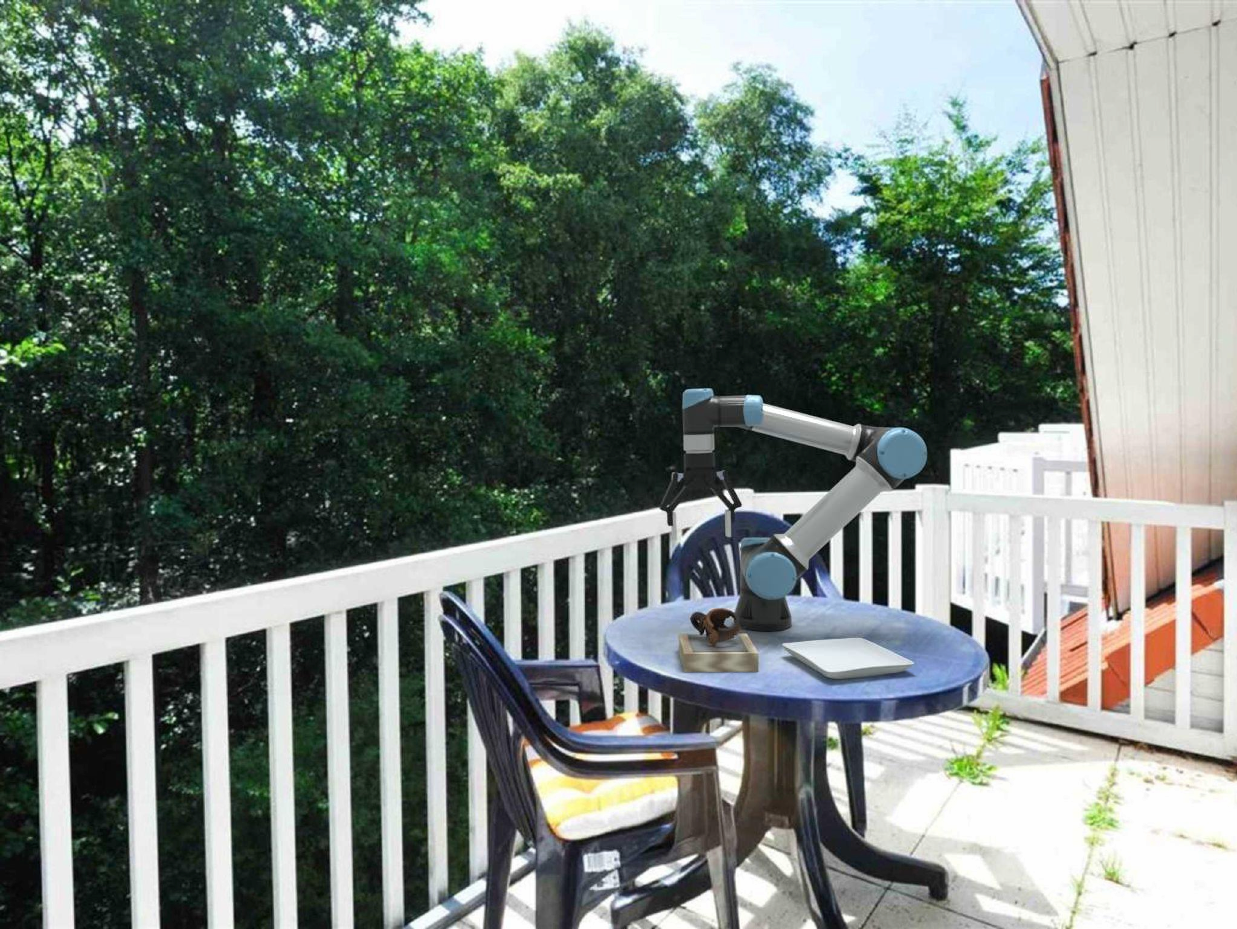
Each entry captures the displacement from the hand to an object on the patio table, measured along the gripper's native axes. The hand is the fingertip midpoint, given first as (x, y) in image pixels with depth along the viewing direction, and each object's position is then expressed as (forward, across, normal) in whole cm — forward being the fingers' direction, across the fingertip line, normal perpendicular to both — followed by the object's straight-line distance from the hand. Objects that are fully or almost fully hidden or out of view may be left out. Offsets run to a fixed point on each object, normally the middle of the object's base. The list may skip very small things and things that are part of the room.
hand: (701, 537), depth 206 cm
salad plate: (+26, -26, +27) cm, 46 cm away
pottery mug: (+21, +1, +18) cm, 28 cm away
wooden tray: (+25, +2, +20) cm, 32 cm away
